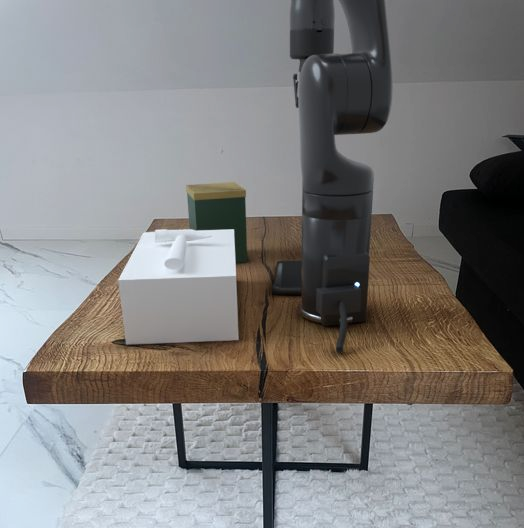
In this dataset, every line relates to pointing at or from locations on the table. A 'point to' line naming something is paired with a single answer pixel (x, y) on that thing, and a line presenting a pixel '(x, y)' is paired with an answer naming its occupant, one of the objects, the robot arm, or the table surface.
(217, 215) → the tea tin
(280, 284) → the phone
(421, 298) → the table surface
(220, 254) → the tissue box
